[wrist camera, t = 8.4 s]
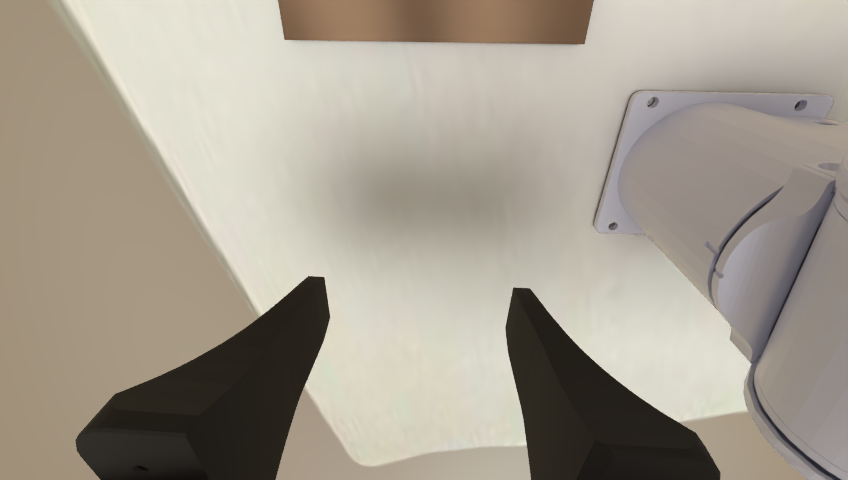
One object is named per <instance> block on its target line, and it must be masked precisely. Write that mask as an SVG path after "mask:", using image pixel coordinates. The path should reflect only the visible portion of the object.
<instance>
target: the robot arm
mask: <svg viewBox="0 0 848 480" xmlns="http://www.w3.org/2000/svg"><path fill="white" fill-rule="evenodd" d="M652 97H654V98H655V102H654V103H653V104H652V105H651V106H648V105H647V104H648V101H649V99H651V98H652ZM799 101H800V105H799V106H798V107H797V108H795V105H796V104H797V103H798V102H799ZM833 102H834V101H833V98H832V96H829V95H824V94H797V93H747V92H697V91H647V90H642V91H638V92H636V93H635V94H634V95H633V96H632V97H631V99H630V101H629V104H628V108H627V111H626V114H625V118H624V121H623V125H622V128H621V132H620V135H619V139H618V142H617V145H616V149H615V152H614V156H613V159H612V163H611V166H610V170H609V173H608V177H607V180H606V183H605V187H604V190H603V194H602V197H601V201H600V204H599V208H598V211H597V214H596V218H595V221H594V227H595V229H596V230H597V231H598V232H600V233H617V234H645V235H648V236H649V238H650V239H651V240H652V241H653V242H654V243H655V244H656V245H657V246H658V247H659V248H660V249H661V250H662V251H663V252H664V254H665V255H666V256H667V257H668V258H669V259H670V260H671V261H672V262H673V263H674V264H675V265H676V266H677V267H678V269H679V270H680V271H681V272H682V273H683V274H684V275H685V276H686V277H687V278H688V279H689V280H690V281H691V282H692V283H693V285H694V286H695V287H696V288H697V289H698V290H699V291H700V292H701V293H702V294H703V295H704V296H705V297H706V298H707V300H708V301H709V302H710V303H711V304H712V305H713V306H714V307H715V308H716V309H717V310H718V311H719V312H720V313H721V315H722V316H723V317H724V318H725V319H726V320H727V321H728V323H729V324H730V327H731V336H730V340H731V341H732V342H733V344H734V345H735V346H736V347H737V348H738V349H739V350H740V351H741V353H742V354H743V355H744V356H745V357H746V358H747V359H748V360H749V362H750V363H752V365H751V367H750V369H749V371H748V374H747V376H746V378H745V381H744V398H745V403H746V406H747V409H748V411H749V414H750V416H751V418H752V420H753V422H754V423H755V425H756V426H757V428H758V430H759V431H760V433H761V434H762V435H763V437H764V438H765V439H766V440H767V441H768V443H769V444H770V445H771V446H772V448H773V449H774V450H775V451H776V452H777V453H778V454H779V455H780V456H781V457H782V458H783V459H784V460H785V461H787V463H788V464H789V465H791V466H792V467H793V468H794V469H795V470H797V471H798V472H799V473H800V474H801V475H803V476H804V477H805V478H806V479H807V480H848V124H844V123H841V122H837V121H833V120H829V119H825V118H826V116H827V114H828V113H829V111H830V109H831V107H832V105H833ZM794 108H795V109H794ZM614 222H615V224H614V226H612V227H609V225H610V224H611V223H614ZM329 319H330V313H329V306H328V300H327V293H326V286H325V279H324V277H313V276H308V277H307V278H306V279H305V280H304V281H302V282H301V283H300V284H299V285H298V286H297V287H296V288H294V289H293V290H292V291H291V292H290V293H289V294H288V295H286V296H285V297H284V298H283V299H282V300H281V301H279V302H278V303H277V304H276V305H275V306H273V307H272V308H271V309H270V310H269V311H267V312H266V313H265V314H263V315H262V316H261V317H259V318H258V319H257V320H256V321H254V322H253V323H252V324H250V325H249V326H248V327H246V328H245V329H244V330H242V331H240V332H239V333H237V334H236V335H234V336H233V337H231V338H230V339H228V340H227V341H225V342H224V343H222V344H220V345H218V346H217V347H215V348H213V349H211V350H210V351H208V352H206V353H204V354H203V355H201V356H199V357H197V358H196V359H194V360H192V361H190V362H188V363H186V364H184V365H182V366H180V367H178V368H176V369H173V370H171V371H169V372H167V373H165V374H163V375H161V376H158V377H156V378H154V379H151V380H149V381H147V382H144V383H142V384H139V385H137V386H134V387H132V388H130V389H127V390H125V391H122V392H120V393H117V394H115V395H114V396H113V397H112V398H111V399H110V400H109V401H108V402H107V404H106V405H105V406H104V407H103V408H102V409H101V410H100V411H99V413H98V414H97V415H96V416H95V417H94V418H93V419H92V420H91V421H90V423H89V424H88V425H87V426H86V427H85V428H84V429H83V431H81V433H80V434H79V435H78V437H77V439H76V447H77V451H78V453H79V454H80V456H81V457H82V458H83V460H84V461H85V462H86V463H87V464H88V465H89V467H90V468H91V469H92V470H93V471H94V472H95V474H96V475H97V476H98V477H99V478H100V479H101V480H275V479H276V475H277V471H278V468H279V464H280V460H281V457H282V453H283V450H284V446H285V442H286V439H287V436H288V432H289V429H290V426H291V423H292V419H293V416H294V413H295V410H296V407H297V404H298V401H299V398H300V395H301V393H302V391H303V388H304V386H305V383H306V381H307V379H308V376H309V374H310V372H311V369H312V367H313V365H314V362H315V360H316V358H317V355H318V353H319V351H320V348H321V346H322V343H323V341H324V337H325V334H326V331H327V327H328V323H329ZM506 337H507V346H508V353H509V358H510V362H511V367H512V371H513V375H514V379H515V383H516V388H517V392H518V396H519V400H520V404H521V409H522V414H523V419H524V426H525V433H526V441H527V448H528V457H529V464H530V473H531V480H720V471H719V470H718V468H717V466H716V465H715V463H714V461H713V459H712V458H711V456H710V454H709V452H708V451H707V449H706V447H705V446H704V444H703V443H702V441H701V440H700V438H699V437H698V436H697V434H696V433H695V432H693V431H692V430H690V429H688V428H687V427H685V426H683V425H682V424H680V423H678V422H677V421H675V420H673V419H672V418H670V417H668V416H667V415H665V414H663V413H662V412H660V411H659V410H657V409H656V408H654V407H653V406H651V405H650V404H648V403H647V402H645V401H644V400H642V399H641V398H639V397H638V396H637V395H635V394H634V393H633V392H631V391H630V390H628V389H627V388H626V387H624V386H623V385H622V384H621V383H619V382H618V381H617V380H616V379H614V378H613V377H612V376H610V375H609V374H608V373H607V372H606V371H604V370H603V369H602V368H601V367H600V366H599V365H598V364H597V363H595V362H594V361H593V360H592V359H591V358H590V357H589V356H588V355H587V354H586V353H585V352H584V351H582V350H581V349H580V348H579V347H578V345H577V344H576V343H575V342H574V341H573V340H572V339H571V338H570V337H569V336H568V335H567V334H566V333H565V331H564V330H563V329H562V328H561V327H560V326H559V324H558V323H557V322H556V321H555V320H554V319H553V317H552V316H551V315H550V314H549V312H548V311H547V310H546V309H545V307H544V306H543V305H542V303H541V302H540V301H539V300H538V298H537V297H536V296H535V294H534V293H533V292H532V291H531V289H529V288H513V292H512V297H511V303H510V308H509V313H508V318H507V323H506Z"/></svg>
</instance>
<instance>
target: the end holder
mask: <svg viewBox="0 0 848 480" xmlns="http://www.w3.org/2000/svg"><path fill="white" fill-rule="evenodd" d="M593 1H594V0H278V2H279V8H280V14H281V20H282V26H283V32H284V39H285V40H337V41H405V42H473V43H541V44H585V39H586V34H587V29H588V25H589V20H590V15H591V11H592V6H593Z"/></svg>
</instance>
